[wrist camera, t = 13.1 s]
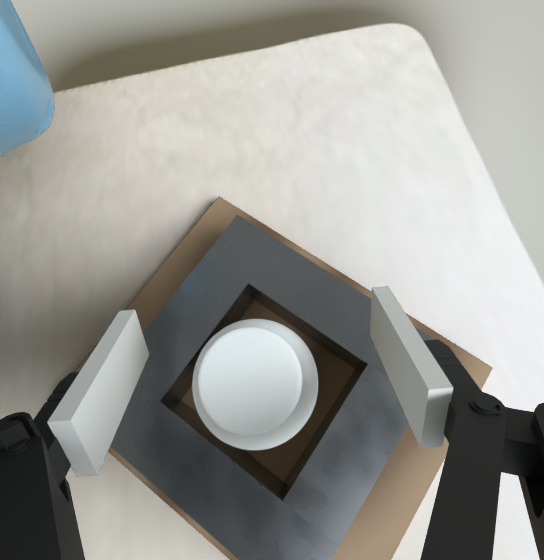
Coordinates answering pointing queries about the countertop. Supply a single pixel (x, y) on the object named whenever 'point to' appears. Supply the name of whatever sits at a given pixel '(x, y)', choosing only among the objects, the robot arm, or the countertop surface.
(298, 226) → the countertop surface
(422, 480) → the brown base board
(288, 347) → the supplement bottle
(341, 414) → the square socket
